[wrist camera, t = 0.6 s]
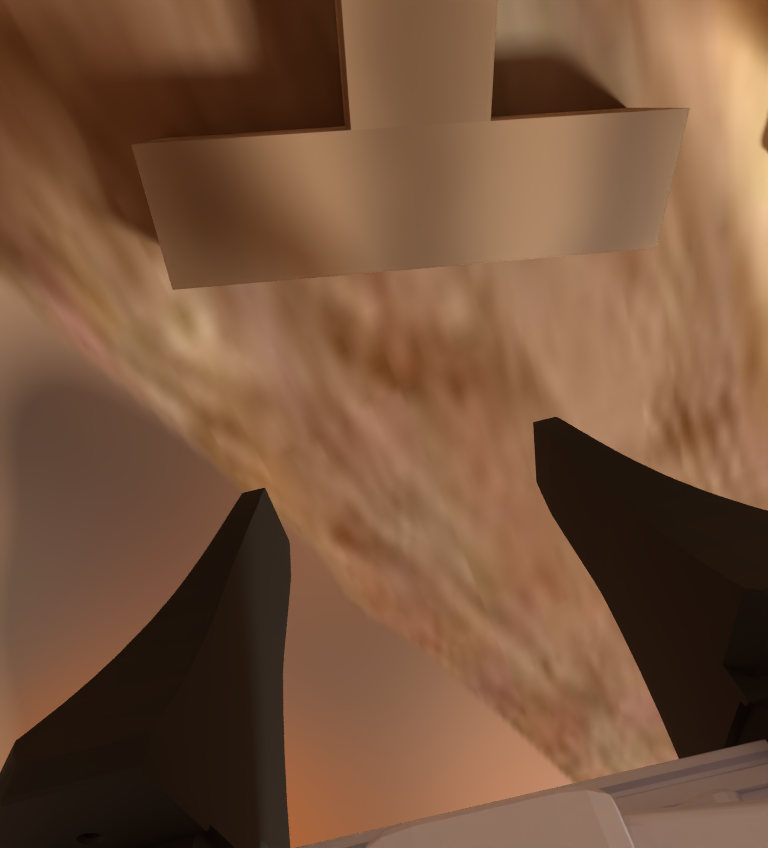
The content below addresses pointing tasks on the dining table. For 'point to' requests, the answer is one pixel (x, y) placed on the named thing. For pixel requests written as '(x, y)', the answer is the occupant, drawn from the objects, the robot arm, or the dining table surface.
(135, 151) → the t block
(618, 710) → the dining table surface
